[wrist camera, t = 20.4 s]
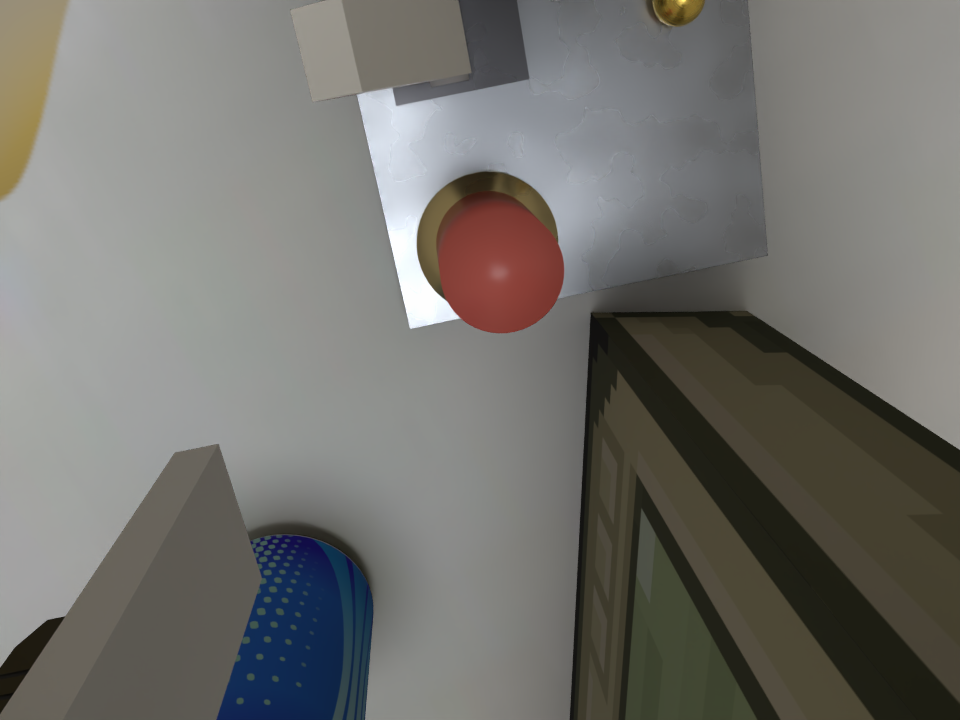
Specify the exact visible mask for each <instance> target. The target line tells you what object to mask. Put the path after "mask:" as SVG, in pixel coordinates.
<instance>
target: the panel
mask: <svg viewBox="0 0 960 720" xmlns="http://www.w3.org/2000/svg"><path fill="white" fill-rule="evenodd" d="M458 1H459V6H460V12H461V17H462V23H463V28H464V34H465V39H466V45H467V50H468V56H469V61H470V67H471V72H472V73H469V80H465V81H460V82H455V83H450V84H445V85H440V86H435V87H431V86H430V82H425V83H419V84H413V85H408V86H402V87H396V88H391V89H385V90H379V91H374V92H368V93H362V94H357V97H358V101H359V105H360V110H361V114H362V119H363V123H364V128H365V132H366V136H367V141H368V145H369V150H370V154H371V158H372V163H373V167H374V172H375V176H376V180H377V185H378V189H379V194H380V198H381V202H382V207H383V211H384V216H385V220H386V224H387V229H388V233H389V238H390V242H391V247H392V251H393V255H394V260H395V264H396V269H397V273H398V277H399V282H400V286H401V291H402V295H403V299H404V304H405V308H406V313H407V317H408V321H409V326H410V329H411V328H416V327H421V326H426V325H430V324H435V323H440V322H445V321H450V320H455V319H460V317H459V316H458V315H457V314H456V313H455V312H454V311H453V309H452V308H451V307H450V305H449V303H448V302H447V300H446V298H445V295H444V293H443V289H442V286H441V279H440V271H439V264H438V257H437V249H436V238H437V232H438V228H439V225H440V223H441V221H442V219H443V217H444V215H445V214H446V213H447V211H448V210H449V209H450V208H451V207H452V206H453V205H454V204H455V203H456V202H457V201H459V200H460V199H462V198H464V197H465V196H468V195H470V194H473V193H477V192H482V191H496V192H501V193H505V194H508V195H510V196H512V197H514V198H516V199H517V200H519V201H520V202H521V203H523V204H524V205H525V206H526V207H527V208H528V209H529V210H530V211H531V212H532V213H533V214H534V216H535V217H536V218H537V219H538V220H539V221H540V222H541V223H542V224H543V225H544V226H545V227H546V228H547V229H548V230H549V231H550V232H551V233H552V235H553V236H554V237H555V239H556V241H557V243H558V244H559V247H560V249H561V252H562V256H563V260H564V280H563V285H562V289H561V292H560V294H559V296H558V298H562V297H567V296H572V295H577V294H582V293H587V292H592V291H597V290H602V289H606V288H611V287H616V286H621V285H626V284H631V283H636V282H641V281H646V280H650V279H655V278H660V277H665V276H670V275H675V274H680V273H685V272H690V271H694V270H699V269H704V268H709V267H714V266H719V265H724V264H729V263H734V262H738V261H743V260H748V259H753V258H758V257H763V256H768V253H767V240H766V228H765V215H764V202H763V189H762V177H761V164H760V151H759V139H758V126H757V113H756V100H755V88H754V75H753V62H752V50H751V37H750V24H749V11H748V0H458Z"/></svg>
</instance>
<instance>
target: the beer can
mask: <svg viewBox="0 0 960 720" xmlns="http://www.w3.org/2000/svg"><path fill="white" fill-rule="evenodd" d="M250 543H251V546H252V549H253V552H254V555H255V558H256V561H257V564H258V567H259V570H260V574H261V577H262V580H261V583H260V586H259V589H258V592H257V595H256V598H255V601H254V605H253V608H252V611H251V614H250V617H249V620H248V623H247V626H246V629H245V632H244V636H243V639H242V642H241V645H240V648H239V651H238V654H237V657H236V660H235V663H234V666H233V670H232V673H231V676H230V679H229V682H228V685H227V688H226V691H225V694H224V697H223V701H222V704H221V707H220V710H219V713H218V716H217V719H216V720H365V712H366V699H367V687H368V674H369V662H370V649H371V636H372V624H373V599H372V595H371V591H370V588H369V585H368V583H367V581H366V579H365V577H364V575H363V573H362V572H361V570H360V569H359V568H358V567H357V565H356V564H355V563H354V562H353V561H352V560H351V559H350V558H349V557H348V556H346V555H345V554H344V553H343V552H341V551H340V550H338V549H337V548H335V547H333V546H331V545H330V544H327V543H325V542H323V541H320V540H317V539H314V538H310V537H307V536H301V535H291V534H279V535H270V536H264V537H260V538H257V539H253V540H251V541H250Z"/></svg>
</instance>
